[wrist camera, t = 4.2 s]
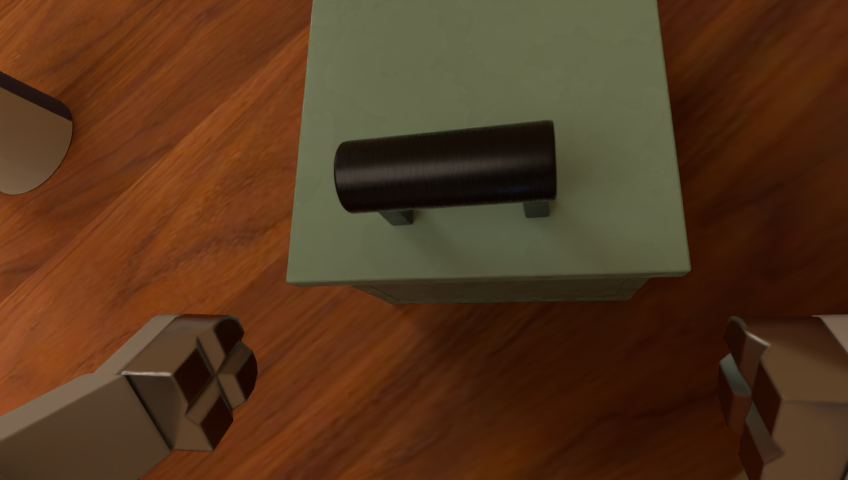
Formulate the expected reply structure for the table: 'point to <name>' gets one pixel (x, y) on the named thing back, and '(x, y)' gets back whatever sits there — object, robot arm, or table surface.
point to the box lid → (485, 144)
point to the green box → (508, 291)
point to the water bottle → (30, 135)
